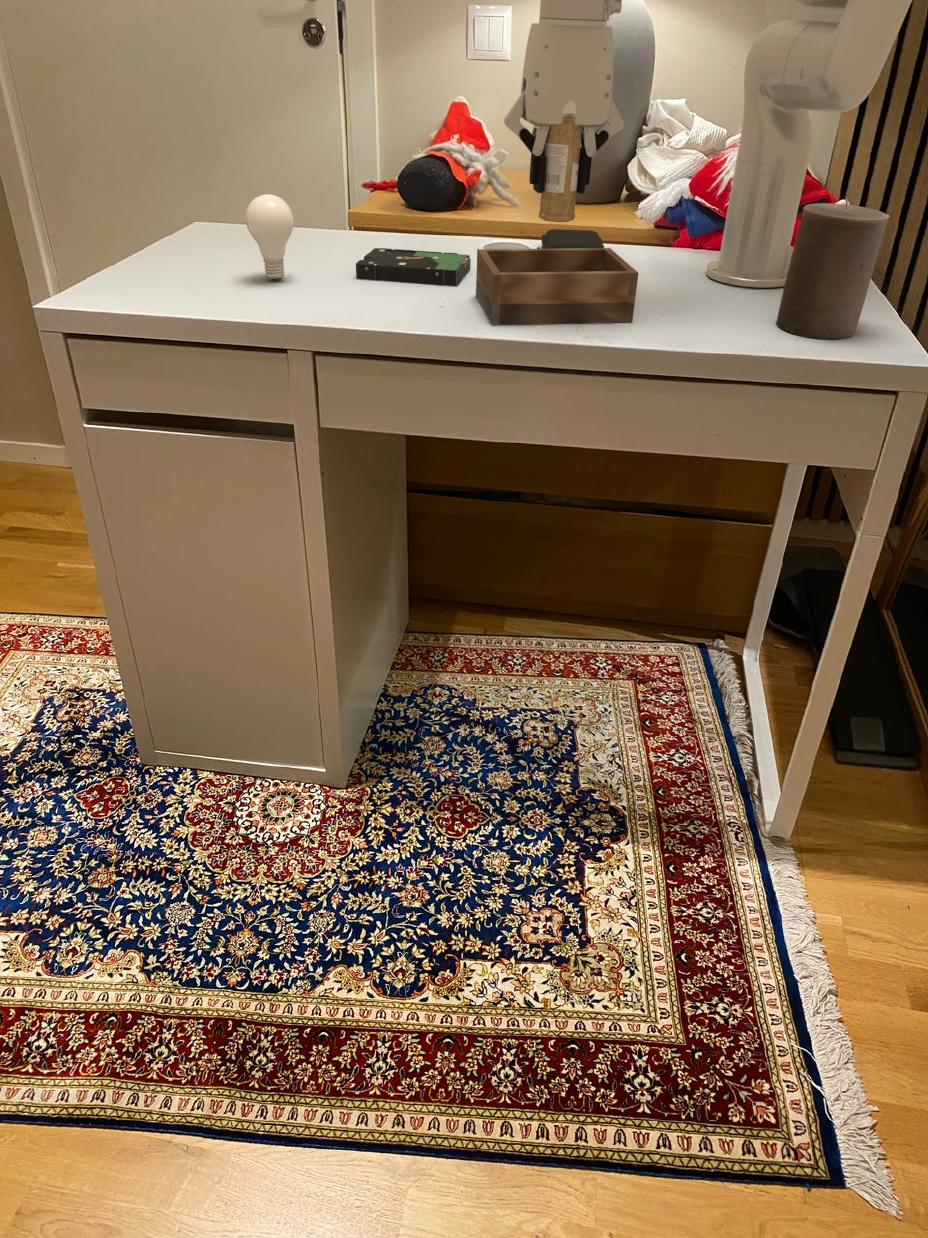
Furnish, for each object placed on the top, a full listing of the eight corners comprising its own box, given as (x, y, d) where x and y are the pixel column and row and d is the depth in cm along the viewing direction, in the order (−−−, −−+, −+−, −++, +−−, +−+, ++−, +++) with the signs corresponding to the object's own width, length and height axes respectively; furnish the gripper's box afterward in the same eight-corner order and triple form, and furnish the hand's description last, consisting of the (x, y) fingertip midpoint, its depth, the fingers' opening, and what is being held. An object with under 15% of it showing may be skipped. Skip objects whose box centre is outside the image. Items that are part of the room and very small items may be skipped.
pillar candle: (781, 336, 109) (813, 203, 101) (771, 313, 117) (800, 188, 109) (863, 343, 108) (902, 209, 100) (847, 319, 116) (883, 193, 108)
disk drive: (355, 284, 127) (458, 289, 125) (354, 263, 126) (458, 268, 124) (374, 266, 136) (471, 271, 134) (373, 246, 134) (471, 251, 132)
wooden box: (605, 293, 123) (610, 247, 120) (632, 322, 113) (638, 272, 109) (475, 295, 121) (477, 249, 118) (491, 325, 111) (493, 274, 107)
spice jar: (582, 221, 110) (594, 94, 102) (552, 224, 108) (563, 95, 100) (559, 214, 113) (569, 91, 105) (530, 217, 111) (538, 91, 103)
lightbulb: (273, 271, 129) (265, 188, 123) (307, 278, 126) (301, 193, 120) (242, 281, 124) (232, 194, 118) (278, 288, 122) (269, 200, 116)
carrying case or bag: (534, 245, 148) (536, 267, 136) (535, 225, 146) (537, 246, 134) (599, 247, 148) (606, 270, 136) (601, 228, 146) (609, 248, 134)
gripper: (637, 12, 103) (616, 187, 113) (492, 6, 100) (485, 185, 111) (658, 13, 96) (634, 197, 107) (504, 6, 94) (495, 196, 105)
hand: (558, 189), depth 109 cm, fingers closed on spice jar, 4 cm apart
